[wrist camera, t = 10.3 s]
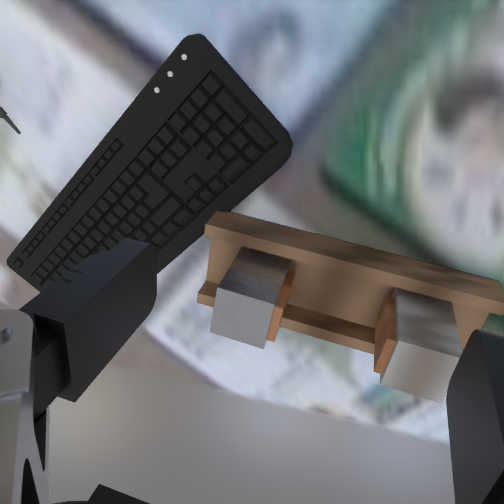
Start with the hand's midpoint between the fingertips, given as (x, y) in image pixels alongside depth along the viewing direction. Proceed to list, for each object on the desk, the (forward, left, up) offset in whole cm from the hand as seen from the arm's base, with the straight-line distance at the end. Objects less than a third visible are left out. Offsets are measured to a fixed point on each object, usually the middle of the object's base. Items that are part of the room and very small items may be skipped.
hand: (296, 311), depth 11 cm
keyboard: (+16, +12, -23) cm, 31 cm away
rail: (-2, +13, -23) cm, 26 cm away
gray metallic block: (+4, +13, -22) cm, 25 cm away
